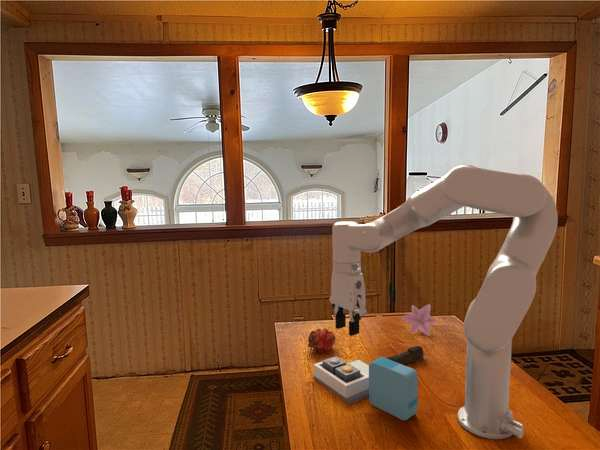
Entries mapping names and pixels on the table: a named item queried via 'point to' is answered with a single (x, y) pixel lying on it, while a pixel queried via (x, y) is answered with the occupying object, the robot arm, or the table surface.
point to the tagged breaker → (347, 373)
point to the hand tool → (409, 356)
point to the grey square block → (333, 364)
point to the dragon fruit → (321, 340)
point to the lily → (420, 319)
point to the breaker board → (344, 390)
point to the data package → (393, 388)
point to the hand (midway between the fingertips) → (347, 330)
